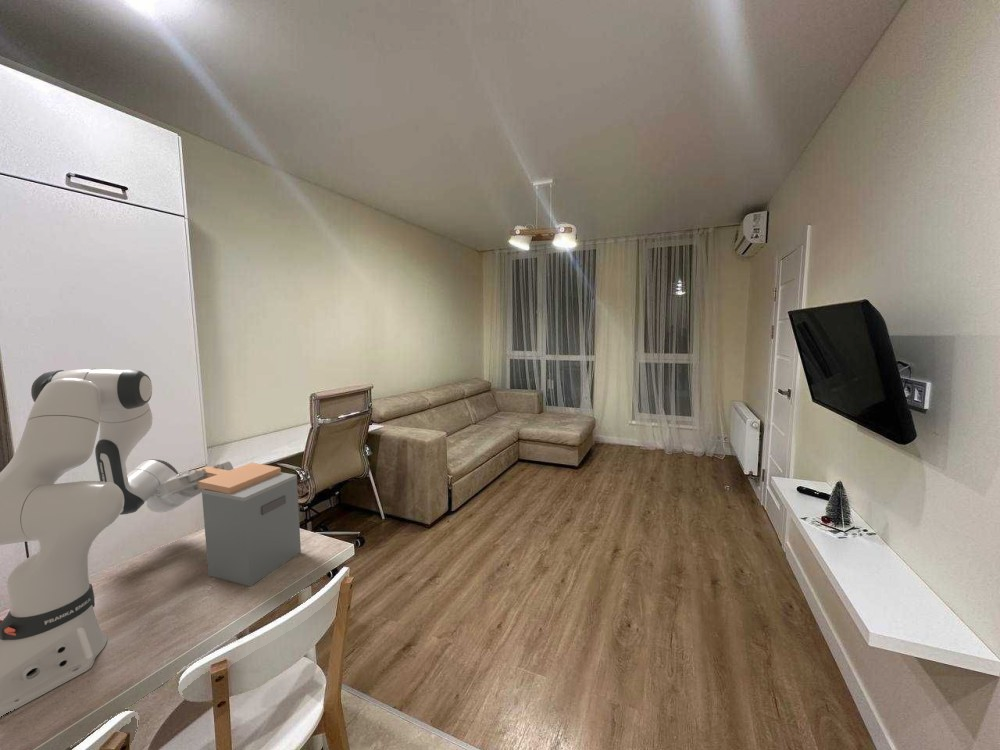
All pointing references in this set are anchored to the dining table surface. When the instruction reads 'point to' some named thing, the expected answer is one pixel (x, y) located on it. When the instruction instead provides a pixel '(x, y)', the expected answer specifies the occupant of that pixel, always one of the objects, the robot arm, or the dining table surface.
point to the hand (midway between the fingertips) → (211, 468)
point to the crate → (252, 529)
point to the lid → (236, 477)
